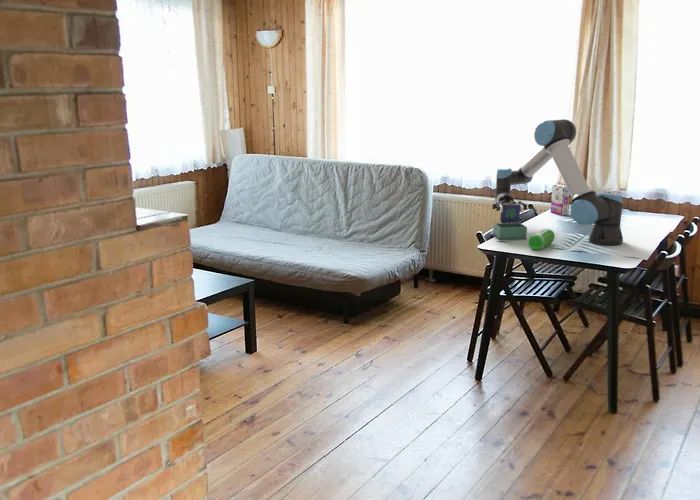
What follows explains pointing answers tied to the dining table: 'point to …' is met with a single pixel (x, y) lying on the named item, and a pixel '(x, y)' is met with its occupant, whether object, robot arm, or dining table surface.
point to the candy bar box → (560, 200)
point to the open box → (509, 231)
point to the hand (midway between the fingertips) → (512, 209)
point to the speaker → (541, 239)
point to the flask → (510, 213)
